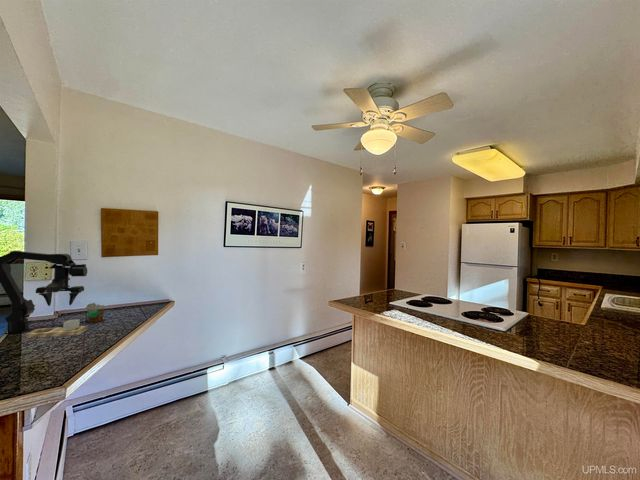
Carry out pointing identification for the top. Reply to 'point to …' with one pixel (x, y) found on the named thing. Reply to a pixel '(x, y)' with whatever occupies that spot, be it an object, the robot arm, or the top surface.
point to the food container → (95, 313)
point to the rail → (54, 332)
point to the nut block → (71, 325)
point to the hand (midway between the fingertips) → (59, 305)
